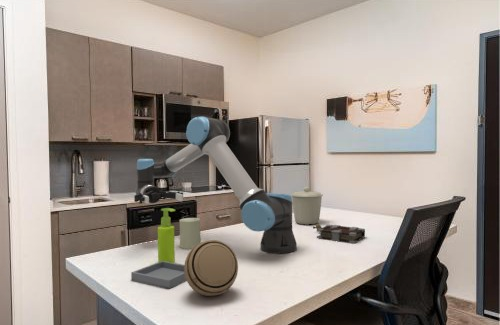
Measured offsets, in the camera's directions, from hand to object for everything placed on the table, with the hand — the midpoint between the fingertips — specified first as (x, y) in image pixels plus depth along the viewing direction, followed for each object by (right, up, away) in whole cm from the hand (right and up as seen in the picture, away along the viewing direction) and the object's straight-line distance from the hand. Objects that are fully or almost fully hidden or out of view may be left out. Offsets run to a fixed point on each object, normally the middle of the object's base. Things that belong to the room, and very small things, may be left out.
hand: (165, 199), depth 136 cm
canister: (+66, -21, +61) cm, 92 cm away
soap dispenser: (+3, -23, -10) cm, 25 cm away
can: (+8, -22, +14) cm, 27 cm away
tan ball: (+23, -23, -39) cm, 51 cm away
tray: (+6, -23, -25) cm, 35 cm away
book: (+73, -21, +27) cm, 81 cm away
